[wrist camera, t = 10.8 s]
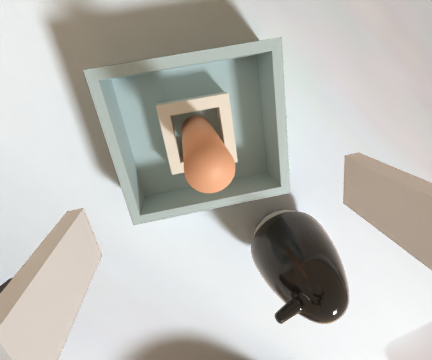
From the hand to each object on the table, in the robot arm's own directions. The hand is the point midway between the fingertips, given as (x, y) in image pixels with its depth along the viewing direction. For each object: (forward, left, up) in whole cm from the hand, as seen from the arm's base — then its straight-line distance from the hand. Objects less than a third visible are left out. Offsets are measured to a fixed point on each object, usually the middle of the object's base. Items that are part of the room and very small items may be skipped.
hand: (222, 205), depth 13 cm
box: (0, 0, -21) cm, 21 cm away
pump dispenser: (+9, -17, -21) cm, 28 cm away
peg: (0, 0, -20) cm, 20 cm away
